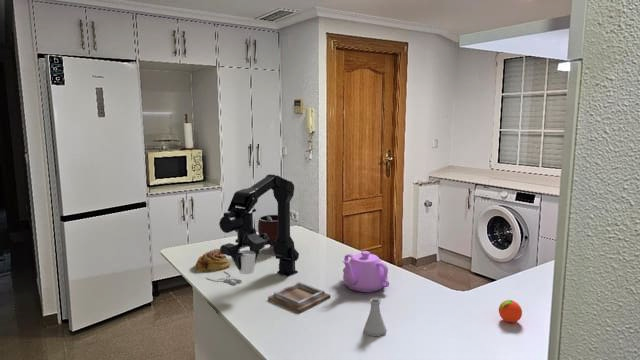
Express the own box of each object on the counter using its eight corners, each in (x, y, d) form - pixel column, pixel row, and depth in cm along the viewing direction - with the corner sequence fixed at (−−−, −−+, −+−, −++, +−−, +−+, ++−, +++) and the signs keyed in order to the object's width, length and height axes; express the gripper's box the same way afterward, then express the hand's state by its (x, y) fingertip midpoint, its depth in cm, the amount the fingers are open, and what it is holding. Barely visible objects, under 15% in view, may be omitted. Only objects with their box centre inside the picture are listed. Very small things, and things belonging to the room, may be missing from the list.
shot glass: (259, 269, 160) (258, 250, 159) (250, 275, 154) (250, 256, 153) (243, 267, 163) (242, 249, 162) (233, 273, 156) (233, 255, 155)
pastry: (230, 270, 187) (230, 252, 186) (195, 273, 184) (194, 255, 182) (229, 260, 200) (228, 243, 199) (195, 263, 196) (194, 246, 195)
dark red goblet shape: (263, 247, 218) (261, 208, 215) (290, 247, 216) (289, 208, 213) (254, 257, 203) (252, 215, 200) (283, 258, 201) (282, 216, 198)
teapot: (321, 288, 166) (321, 254, 164) (356, 273, 182) (356, 241, 180) (367, 305, 152) (367, 267, 149) (401, 286, 167) (402, 252, 165)
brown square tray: (299, 286, 168) (299, 279, 168) (330, 297, 158) (330, 291, 157) (268, 299, 157) (268, 292, 156) (299, 313, 146) (299, 305, 146)
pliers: (225, 268, 185) (248, 277, 175) (225, 272, 185) (248, 280, 176) (205, 275, 178) (228, 284, 168) (205, 279, 178) (228, 288, 168)
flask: (361, 325, 137) (361, 296, 136) (383, 324, 138) (384, 295, 136) (365, 337, 130) (365, 306, 129) (389, 336, 131) (389, 305, 129)
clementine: (507, 329, 134) (509, 307, 133) (490, 319, 141) (491, 298, 139) (526, 324, 137) (527, 302, 136) (509, 314, 144) (510, 294, 143)
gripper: (237, 235, 143) (239, 280, 146) (279, 224, 157) (280, 265, 160) (218, 229, 151) (220, 272, 153) (259, 219, 164) (260, 258, 167)
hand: (246, 267), depth 158 cm, fingers closed on shot glass, 6 cm apart
